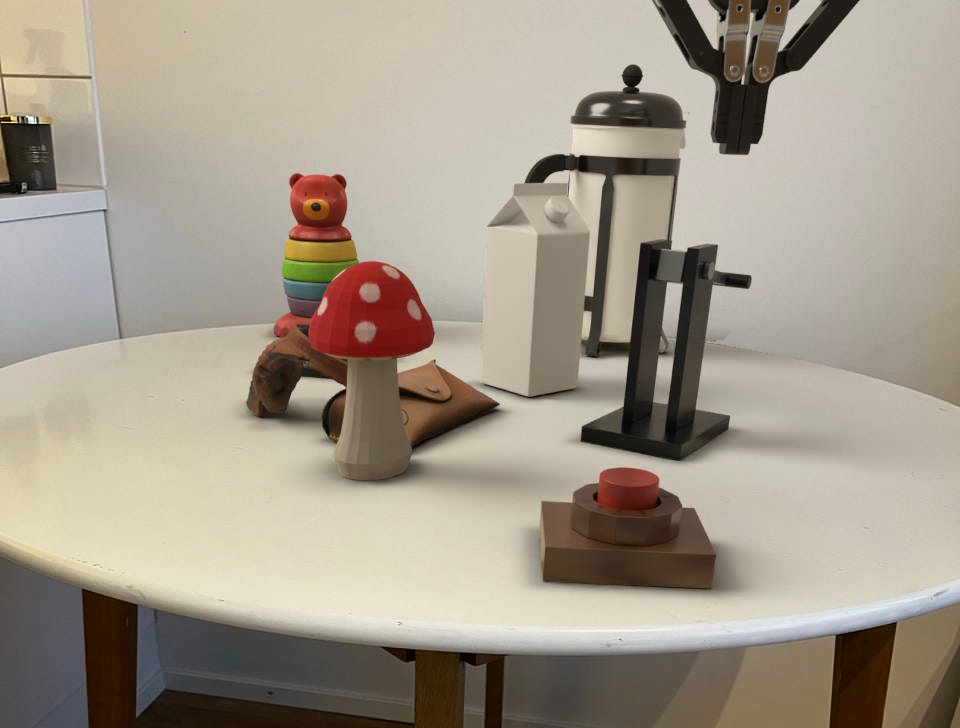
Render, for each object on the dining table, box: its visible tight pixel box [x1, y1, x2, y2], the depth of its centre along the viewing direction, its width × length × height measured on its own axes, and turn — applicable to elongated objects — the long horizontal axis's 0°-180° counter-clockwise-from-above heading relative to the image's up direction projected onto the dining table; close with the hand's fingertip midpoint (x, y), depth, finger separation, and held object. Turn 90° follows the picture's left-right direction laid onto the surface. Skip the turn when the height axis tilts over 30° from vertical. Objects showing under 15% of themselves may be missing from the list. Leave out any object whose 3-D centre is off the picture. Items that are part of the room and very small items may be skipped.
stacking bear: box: [273, 172, 360, 338], centre depth 121 cm, size 11×10×18 cm
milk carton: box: [480, 182, 590, 398], centre depth 99 cm, size 7×7×19 cm
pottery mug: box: [245, 326, 348, 418], centre depth 90 cm, size 12×10×8 cm
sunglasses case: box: [321, 359, 501, 449], centre depth 89 cm, size 18×7×7 cm
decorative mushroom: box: [308, 260, 436, 481], centre depth 74 cm, size 10×9×15 cm
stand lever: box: [656, 249, 753, 290], centre depth 88 cm, size 14×5×2 cm, turn 149°
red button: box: [597, 466, 660, 511], centre depth 62 cm, size 4×4×2 cm
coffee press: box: [524, 63, 688, 358], centre depth 116 cm, size 17×16×30 cm
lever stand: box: [580, 239, 731, 461], centre depth 86 cm, size 12×9×16 cm
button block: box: [538, 482, 717, 590], centre depth 63 cm, size 10×8×4 cm
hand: (734, 153), depth 61 cm, fingers closed
